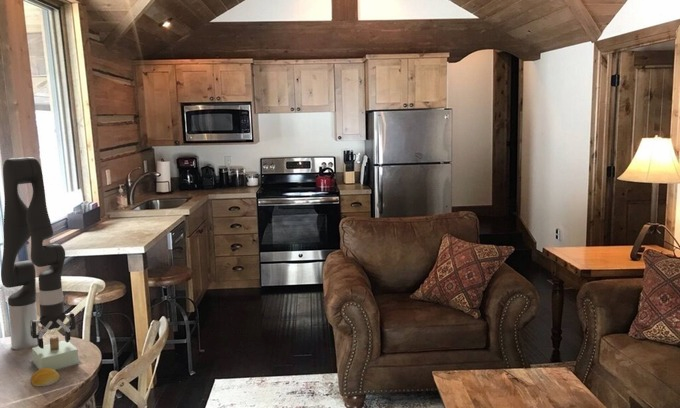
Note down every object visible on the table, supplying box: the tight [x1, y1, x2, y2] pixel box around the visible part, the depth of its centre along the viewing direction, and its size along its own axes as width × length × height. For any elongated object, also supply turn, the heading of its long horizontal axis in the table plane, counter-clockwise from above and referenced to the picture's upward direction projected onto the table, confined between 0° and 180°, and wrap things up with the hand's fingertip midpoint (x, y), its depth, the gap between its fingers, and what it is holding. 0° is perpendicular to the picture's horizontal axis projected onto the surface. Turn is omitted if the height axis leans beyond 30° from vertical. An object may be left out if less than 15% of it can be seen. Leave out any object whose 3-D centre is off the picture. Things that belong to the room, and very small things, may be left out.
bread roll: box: [30, 368, 60, 387], centre depth 183 cm, size 8×9×4 cm
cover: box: [31, 336, 79, 370], centre depth 195 cm, size 12×12×9 cm
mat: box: [28, 358, 83, 372], centre depth 196 cm, size 14×14×1 cm
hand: (54, 344), depth 195 cm, fingers open, 8 cm apart
